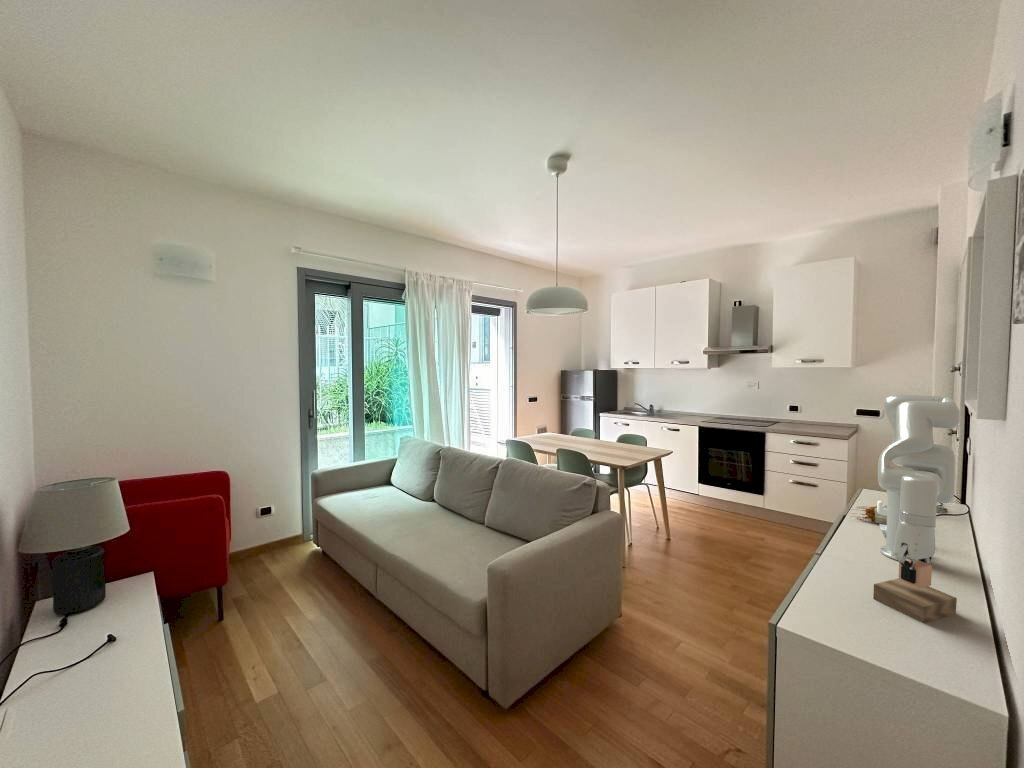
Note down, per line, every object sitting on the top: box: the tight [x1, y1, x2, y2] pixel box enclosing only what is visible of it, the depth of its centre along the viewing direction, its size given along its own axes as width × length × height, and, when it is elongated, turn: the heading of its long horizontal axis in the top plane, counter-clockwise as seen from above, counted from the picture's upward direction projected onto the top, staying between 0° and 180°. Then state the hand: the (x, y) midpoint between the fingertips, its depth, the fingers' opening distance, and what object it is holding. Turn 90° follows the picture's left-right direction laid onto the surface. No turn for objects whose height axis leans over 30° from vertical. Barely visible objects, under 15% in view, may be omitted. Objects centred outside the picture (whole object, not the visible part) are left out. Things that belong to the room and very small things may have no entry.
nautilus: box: [849, 505, 887, 525], centre depth 181 cm, size 8×22×15 cm
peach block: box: [898, 559, 933, 588], centre depth 118 cm, size 5×5×6 cm
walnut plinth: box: [873, 577, 958, 624], centre depth 119 cm, size 14×12×5 cm
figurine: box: [876, 500, 887, 539], centre depth 164 cm, size 7×9×15 cm
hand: (914, 578), depth 118 cm, fingers closed on peach block, 5 cm apart
